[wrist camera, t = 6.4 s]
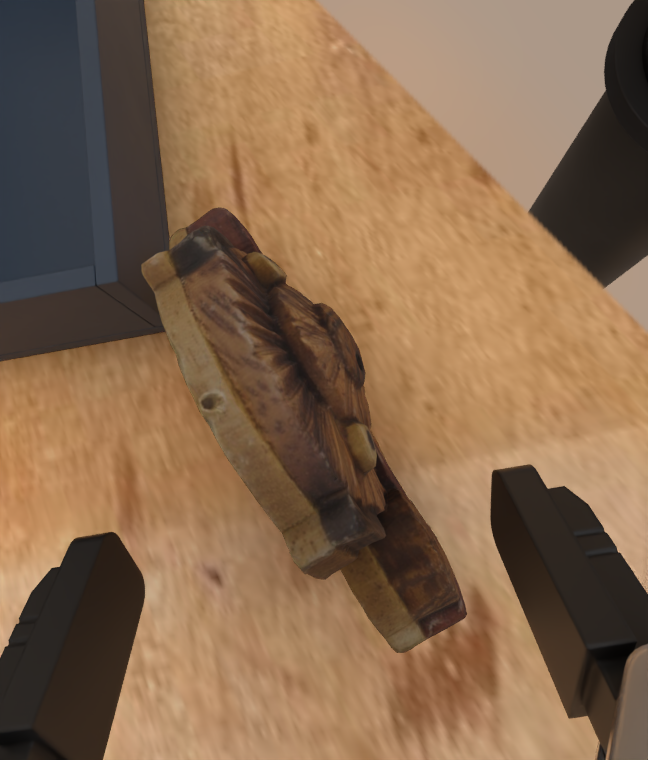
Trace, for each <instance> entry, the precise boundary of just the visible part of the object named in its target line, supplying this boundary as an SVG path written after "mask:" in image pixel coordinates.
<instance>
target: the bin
mask: <svg viewBox="0 0 648 760" xmlns="http://www.w3.org/2000/svg"><path fill="white" fill-rule="evenodd" d="M167 250H169V233H168V223H167V214H166V205H165V195H164V186H163V177H162V167H161V158H160V149H159V139H158V130H157V121H156V111H155V102H154V93H153V83H152V74H151V65H150V55H149V46H148V37H147V27H146V18H145V9H144V0H0V361H4V360H9V359H15V358H20V357H26V356H31V355H37V354H43V353H48V352H54V351H59V350H65V349H70V348H76V347H81V346H87V345H93V344H98V343H104V342H109V341H115V340H120V339H126V338H131V337H137V336H143V335H148V334H154V333H159V332H165V329H164V326H163V324H162V321H161V317H160V314H159V310H158V306H157V302H156V297H155V293H154V291H153V290H152V288H151V287H150V285H149V284H148V282H147V281H146V279H145V278H144V276H143V274H142V268H141V264H143V263H144V262H146V261H147V260H148V259H150V258H151V257H153V256H154V255H156V254H157V253H160V252H163V251H167Z"/></svg>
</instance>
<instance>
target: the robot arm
mask: <svg viewBox="0 0 648 760" xmlns="http://www.w3.org/2000/svg"><path fill="white" fill-rule="evenodd" d="M642 62H643V68H644V72H645V76H646V78H647V81H648V27H647V29H646V32H645V35H644V40H643V45H642ZM490 517H491V528H492V533H493V537H494V540H495V543H496V546H497V549H498V551H499V554H500V556H501V559H502V561H503V563H504V566H505V568H506V570H507V573H508V575H509V578H510V580H511V582H512V585H513V587H514V589H515V592H516V594H517V597H518V599H519V601H520V604H521V606H522V608H523V611H524V613H525V616H526V618H527V620H528V623H529V625H530V627H531V630H532V632H533V635H534V637H535V639H536V642H537V644H538V646H539V649H540V651H541V654H542V656H543V658H544V661H545V663H546V665H547V668H548V670H549V672H550V675H551V677H552V680H553V682H554V684H555V687H556V689H557V691H558V694H559V696H560V699H561V701H562V703H563V706H564V708H565V710H566V713H567V715H568V718H576V717H583V716H588V717H589V719H590V722H591V724H592V726H593V728H594V730H595V733H596V735H597V737H598V739H599V742H598V746H597V751H596V756H595V760H648V594H647V593H646V591H645V590H644V588H643V586H642V585H641V583H640V582H639V580H638V579H637V577H636V576H635V574H634V573H633V571H632V570H631V568H630V567H629V565H628V564H627V562H626V561H625V559H624V558H623V556H622V555H621V553H618V551H617V547H616V546H615V544H614V543H613V541H612V540H611V538H610V537H609V535H608V534H607V533H605V532H604V528H603V526H602V525H601V523H600V522H599V520H598V519H597V517H596V516H595V514H594V513H593V511H592V510H591V508H590V507H589V505H588V504H587V503H586V502H584V501H583V500H582V499H580V498H579V497H578V496H576V495H575V494H574V493H573V492H571V491H570V490H569V489H567V488H566V487H565V486H563V487H557V488H550V489H547V487H546V485H545V484H544V482H543V480H542V479H541V477H540V475H539V474H538V472H537V470H536V469H535V468H534V467H533V466H532V465H523V466H517V467H511V468H505V469H499V470H494V471H493V472H492V484H491V516H490ZM144 598H145V584H144V579H143V576H142V573H141V571H140V570H139V568H138V567H137V565H136V564H135V562H134V560H133V559H132V557H131V556H130V554H129V552H128V551H127V549H126V548H125V546H124V544H123V543H122V541H121V540H120V538H119V537H118V535H117V534H116V533H114V532H109V533H103V534H97V535H91V536H85V537H79V538H76V539H74V540H73V541H72V542H71V544H70V546H69V547H68V550H67V552H66V554H65V556H64V559H63V561H62V563H61V566H60V567H55V568H51V570H50V571H49V572H48V573H47V574H46V576H45V577H44V578H43V579H42V580H41V582H40V583H39V584H38V585H37V586H36V587H35V589H34V590H33V591H32V592H31V594H30V596H29V598H28V601H27V603H26V605H25V607H24V609H23V611H22V613H21V615H20V617H19V624H16V626H15V628H14V630H13V632H12V634H11V636H10V639H9V645H8V646H7V647H5V649H4V651H3V653H2V655H1V658H0V760H103V757H104V753H105V749H106V745H107V742H108V738H109V734H110V730H111V726H112V723H113V719H114V715H115V711H116V707H117V703H118V700H119V696H120V692H121V688H122V684H123V680H124V677H125V673H126V669H127V665H128V661H129V658H130V654H131V650H132V646H133V642H134V638H135V635H136V631H137V627H138V623H139V619H140V615H141V612H142V608H143V604H144Z"/></svg>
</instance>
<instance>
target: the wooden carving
mask: <svg viewBox="0 0 648 760" xmlns="http://www.w3.org/2000/svg"><path fill="white" fill-rule="evenodd" d="M141 268H142V274H143V276H144V278H145V279H146V281H147V282H148V284H149V285H150V287H151V288H152V290H153V291H154V293H155V297H156V302H157V306H158V310H159V314H160V317H161V321H162V324H163V326H164V329H165V332H166V334H167V337H168V339H169V342H170V344H171V346H172V348H173V350H174V352H175V353H176V356H177V360H178V364H179V367H180V369H181V372H182V374H183V377H184V379H185V382H186V384H187V386H188V388H189V390H190V392H191V394H192V396H193V398H194V400H195V402H196V405H197V407H198V409H199V411H200V413H201V414H202V416H203V417H204V419H205V420H206V422H207V423H208V424H209V426H210V428H211V430H212V432H213V434H214V436H215V438H216V440H217V442H218V443H219V445H220V447H221V448H222V450H223V452H224V454H225V455H226V457H227V459H228V460H229V461H230V463H231V464H232V466H233V467H234V469H235V470H236V472H237V473H238V474H239V476H240V477H241V479H242V480H243V482H244V483H245V484H246V486H247V487H248V489H249V490H250V491H251V493H252V494H253V496H254V497H255V498H256V500H257V501H258V503H259V504H260V505H261V507H262V508H263V509H264V511H265V512H266V513H267V515H268V516H269V517H270V519H271V520H272V521H273V523H274V524H275V525H276V526H277V527H278V529H279V530H280V531H281V532H282V534H283V537H284V539H285V541H286V544H287V546H288V549H289V551H290V554H291V556H292V558H293V561H294V563H295V564H296V565H297V566H298V567H299V568H300V569H301V570H302V571H303V573H304V574H308V575H310V576H313V577H315V578H317V579H327V578H328V577H329V576H330V575H332V574H333V573H335V572H336V571H338V570H341V571H342V573H343V575H344V577H345V579H346V581H347V583H348V585H349V587H350V588H351V590H352V592H353V594H354V595H355V597H356V598H357V600H358V601H359V603H360V604H361V606H362V607H363V609H364V611H365V613H366V615H367V617H368V618H369V620H370V621H371V622H372V623H373V625H374V626H375V627H376V629H377V630H378V631H379V632H380V634H381V635H382V636H383V637H384V638H385V639H386V641H387V642H388V644H389V645H390V646H391V648H392V649H393V650H394V651H395V652H397V653H404V652H406V651H408V650H411V649H412V648H414V647H415V646H416V645H418V644H420V643H421V642H423V641H425V640H426V639H428V638H430V637H432V636H434V635H436V634H437V633H439V632H441V631H443V630H445V629H447V628H448V627H450V626H452V625H454V624H456V623H457V622H459V621H461V620H462V619H464V618H465V617H466V615H467V612H466V608H465V603H464V600H463V597H462V594H461V591H460V588H459V585H458V583H457V580H456V578H455V575H454V573H453V571H452V568H451V566H450V564H449V561H448V559H447V557H446V555H445V553H444V551H443V549H442V547H441V545H440V544H439V542H438V540H437V537H436V536H435V534H434V533H433V531H432V530H431V528H430V527H429V526H428V524H427V523H426V522H425V520H424V519H423V517H422V516H421V514H420V513H419V511H418V510H417V508H416V507H415V506H414V504H413V503H412V502H411V501H410V500H409V499H408V497H407V495H406V494H405V492H404V490H403V489H402V487H401V486H400V484H399V482H398V481H397V479H396V477H395V476H394V474H393V472H392V471H391V469H390V467H389V466H388V464H387V462H386V460H385V458H384V456H383V454H382V452H381V450H380V448H379V445H378V443H377V441H376V439H375V438H374V436H373V434H372V432H371V430H370V429H371V419H370V412H369V406H368V403H367V400H366V397H365V390H364V386H363V384H364V379H365V370H364V366H363V362H362V358H361V354H360V351H359V348H358V347H357V345H356V343H355V341H354V339H353V337H352V335H351V334H350V332H349V331H348V329H347V328H346V326H345V325H344V323H343V322H342V320H341V319H340V317H339V316H338V315H337V314H336V313H335V312H334V311H333V310H332V309H331V308H330V307H329V306H327V305H325V304H323V303H319V304H313V303H312V302H311V301H310V300H308V299H307V298H306V297H305V296H303V295H302V294H301V293H300V292H298V291H297V290H295V289H293V288H292V287H290V286H288V285H287V284H286V277H287V275H286V274H285V273H284V272H283V271H282V270H281V268H280V267H279V266H278V265H277V264H275V263H274V262H273V261H272V260H271V259H269V258H268V257H266V256H265V255H263V254H262V252H261V251H260V250H259V248H258V246H257V245H256V243H255V241H254V240H253V238H252V236H251V235H250V234H249V232H248V231H247V229H246V228H245V227H244V226H243V225H242V224H241V223H240V221H239V220H238V219H237V218H236V217H235V216H234V215H233V214H232V213H230V212H229V211H228V210H226V209H224V208H214V209H212V210H210V211H208V212H207V213H206V214H205V215H203V216H202V217H201V218H200V219H198V220H197V221H196V222H194V223H193V224H191V225H190V226H188V227H186V228H182V229H179V230H178V231H177V232H176V233H174V234H173V235H172V237H171V239H170V242H169V250H167V251H163V252H160V253H157V254H156V255H154V256H153V257H151V258H150V259H148V260H147V261H146V262H144V263H143V264H141Z"/></svg>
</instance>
